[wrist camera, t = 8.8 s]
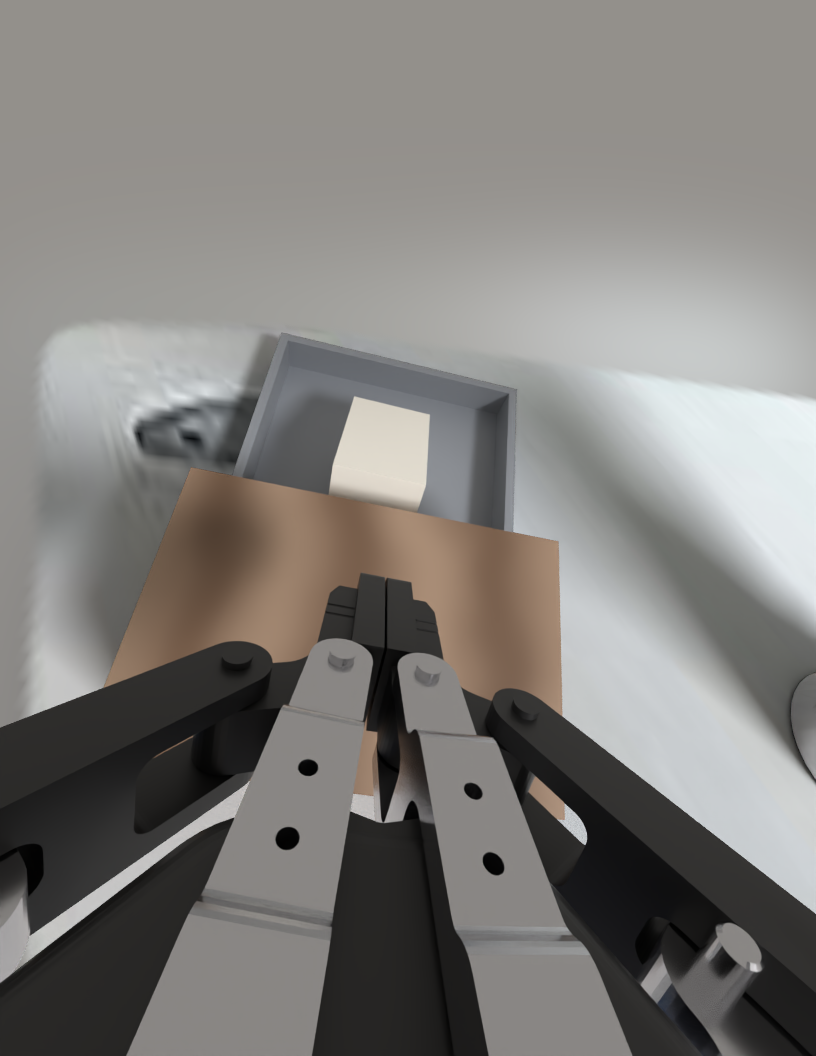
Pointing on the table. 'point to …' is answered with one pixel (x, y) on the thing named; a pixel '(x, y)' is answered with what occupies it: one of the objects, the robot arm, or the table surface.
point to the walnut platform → (338, 559)
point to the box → (340, 374)
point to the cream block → (382, 456)
